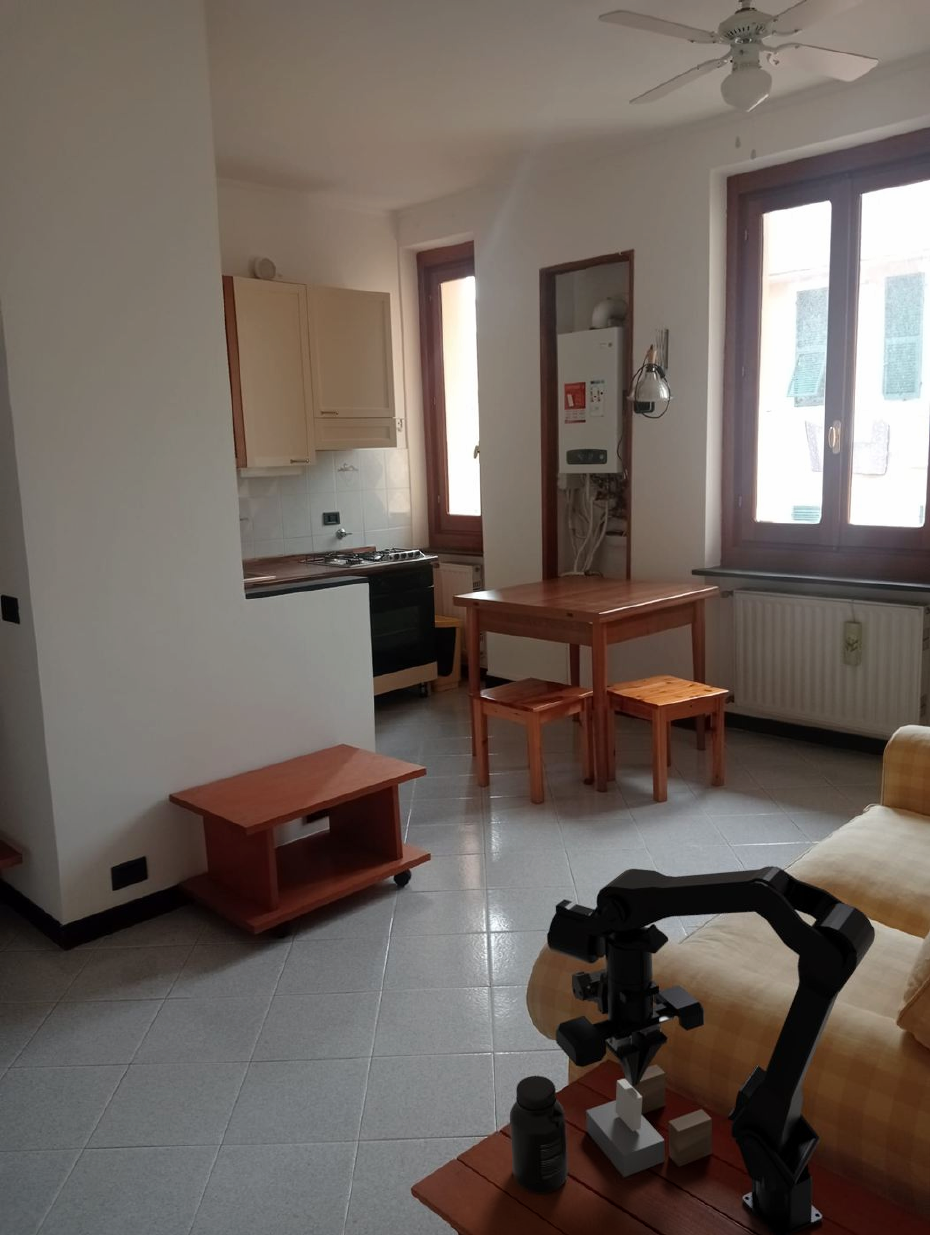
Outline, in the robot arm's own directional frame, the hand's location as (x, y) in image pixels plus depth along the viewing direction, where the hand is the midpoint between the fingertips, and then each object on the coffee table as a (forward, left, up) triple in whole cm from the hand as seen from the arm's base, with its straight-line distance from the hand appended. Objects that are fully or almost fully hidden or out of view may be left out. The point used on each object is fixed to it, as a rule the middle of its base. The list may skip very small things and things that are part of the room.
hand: (632, 1083), depth 121 cm
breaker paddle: (0, +1, -5) cm, 5 cm away
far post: (+5, -5, -8) cm, 11 cm away
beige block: (-5, -5, -8) cm, 11 cm away
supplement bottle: (0, +13, -9) cm, 16 cm away
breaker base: (0, +1, -8) cm, 8 cm away
